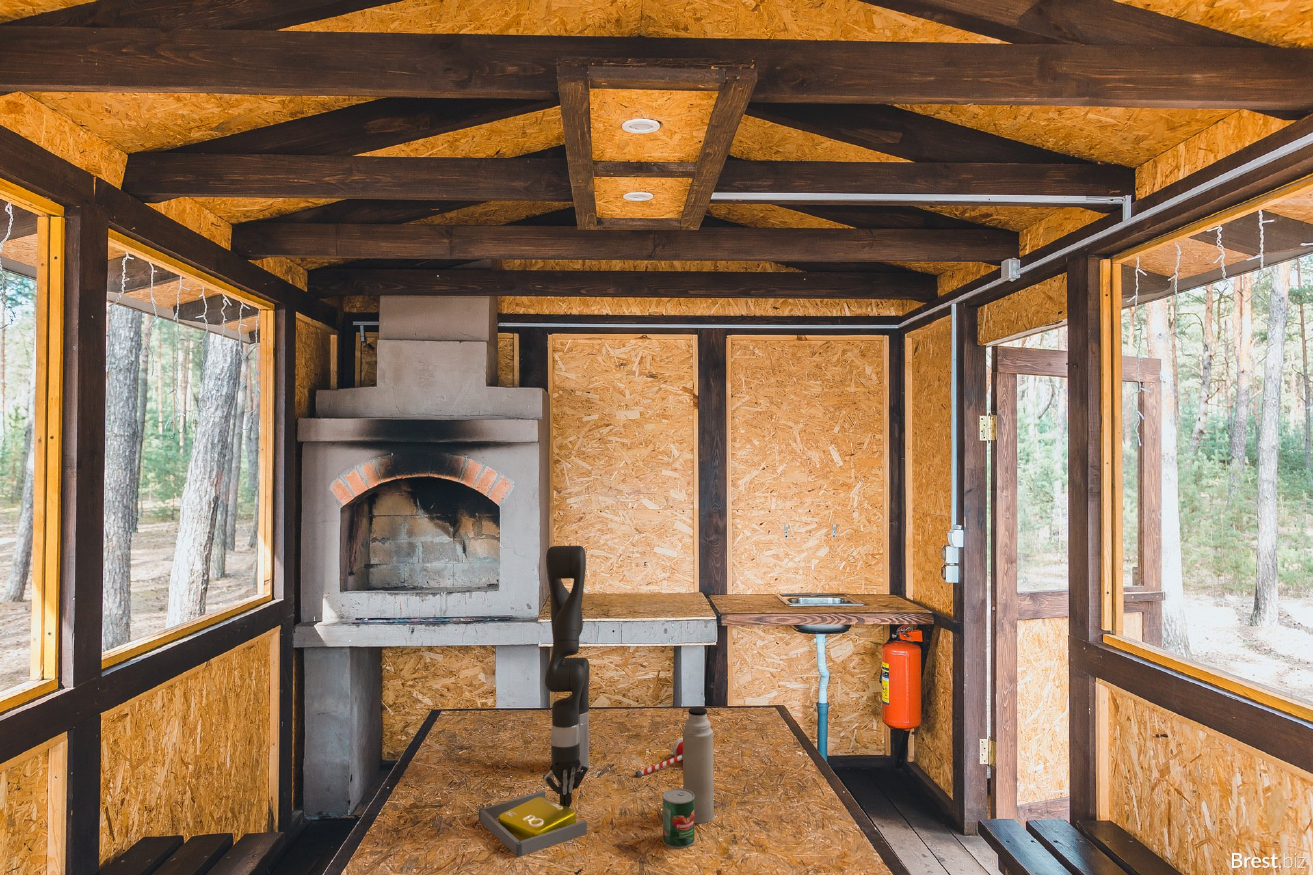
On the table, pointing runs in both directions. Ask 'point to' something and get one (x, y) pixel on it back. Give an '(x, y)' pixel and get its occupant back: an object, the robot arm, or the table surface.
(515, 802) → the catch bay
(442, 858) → the table surface
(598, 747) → the table surface
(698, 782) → the thermos bottle
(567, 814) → the element tile
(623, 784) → the table surface
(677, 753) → the toy hammer
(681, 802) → the canned tomato
